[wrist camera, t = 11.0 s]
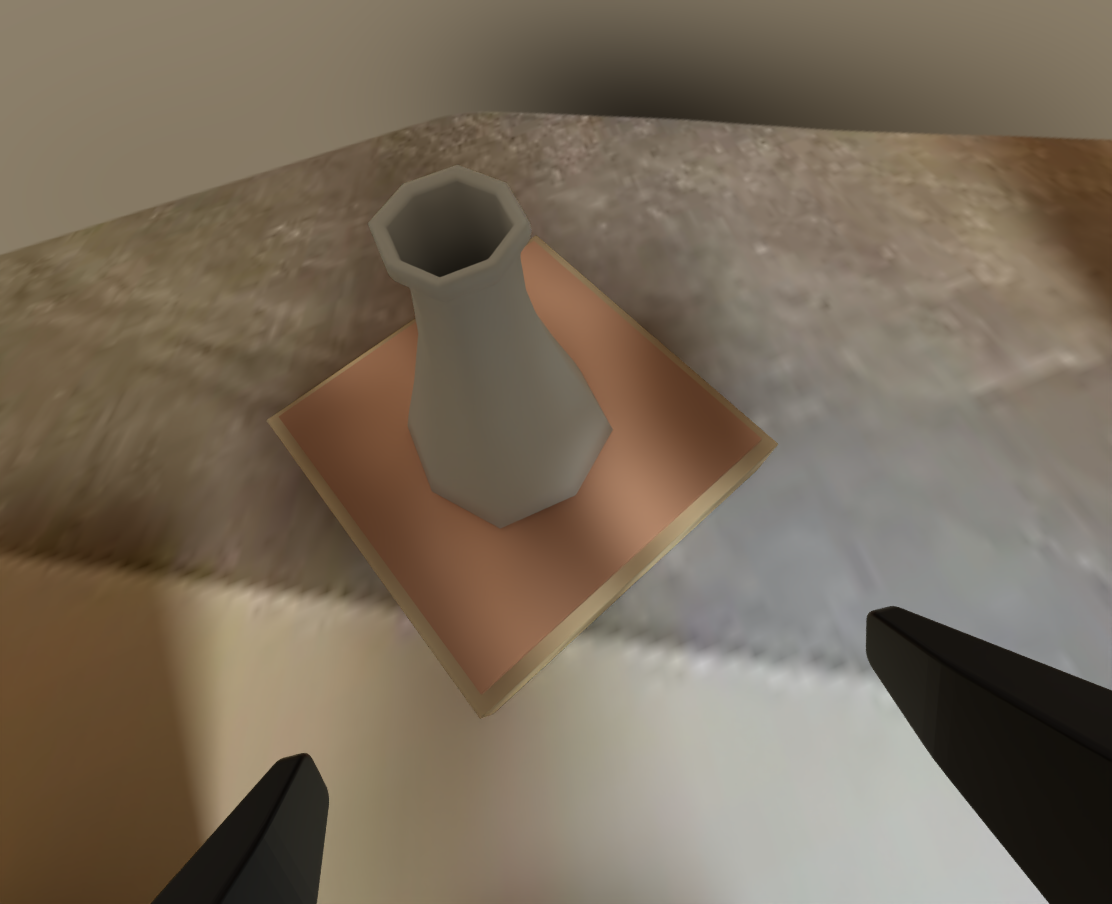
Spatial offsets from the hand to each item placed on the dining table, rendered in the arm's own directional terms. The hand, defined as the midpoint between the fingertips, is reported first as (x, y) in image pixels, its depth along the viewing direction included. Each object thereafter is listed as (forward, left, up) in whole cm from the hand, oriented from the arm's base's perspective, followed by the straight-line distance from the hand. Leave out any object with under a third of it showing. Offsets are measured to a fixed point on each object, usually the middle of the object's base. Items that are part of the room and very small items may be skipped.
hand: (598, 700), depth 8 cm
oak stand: (+4, +9, -12) cm, 15 cm away
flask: (+4, +9, -9) cm, 13 cm away
